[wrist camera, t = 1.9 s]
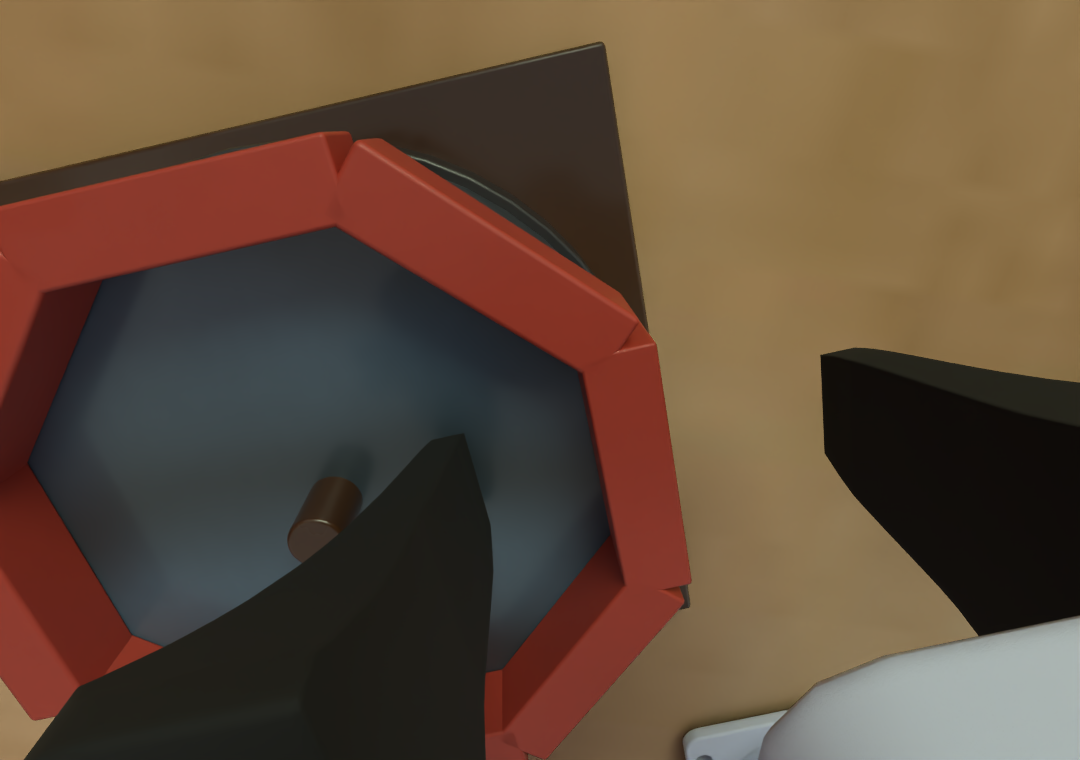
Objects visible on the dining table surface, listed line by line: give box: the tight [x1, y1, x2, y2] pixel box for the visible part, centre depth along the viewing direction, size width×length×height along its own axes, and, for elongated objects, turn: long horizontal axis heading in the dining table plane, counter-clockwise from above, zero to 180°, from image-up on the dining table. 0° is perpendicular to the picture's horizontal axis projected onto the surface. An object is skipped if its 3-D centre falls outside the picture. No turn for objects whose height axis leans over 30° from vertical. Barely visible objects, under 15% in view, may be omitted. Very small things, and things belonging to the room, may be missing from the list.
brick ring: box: [0, 131, 692, 760], centre depth 11 cm, size 12×12×2 cm
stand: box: [0, 42, 690, 673], centre depth 13 cm, size 14×14×5 cm
